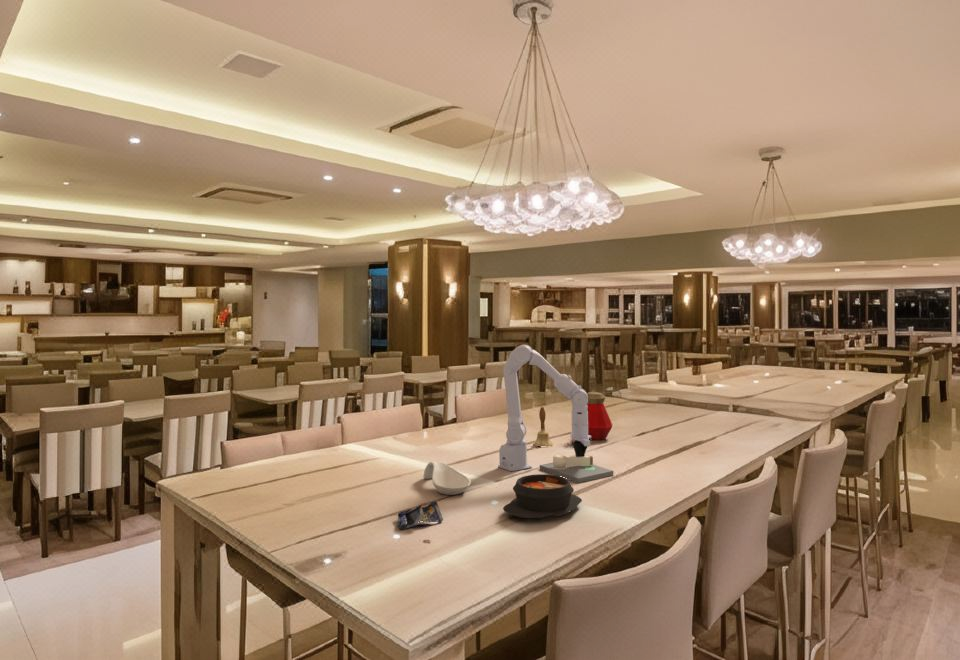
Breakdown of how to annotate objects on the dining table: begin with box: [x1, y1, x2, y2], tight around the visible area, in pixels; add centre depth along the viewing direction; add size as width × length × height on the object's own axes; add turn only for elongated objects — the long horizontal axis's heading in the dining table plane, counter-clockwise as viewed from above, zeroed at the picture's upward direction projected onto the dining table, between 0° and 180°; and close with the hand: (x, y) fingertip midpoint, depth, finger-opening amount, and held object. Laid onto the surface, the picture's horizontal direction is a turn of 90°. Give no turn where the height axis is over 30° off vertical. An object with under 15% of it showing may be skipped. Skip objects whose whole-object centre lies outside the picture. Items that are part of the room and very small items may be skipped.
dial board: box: [539, 462, 614, 484], centre depth 201 cm, size 16×20×2 cm
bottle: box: [586, 391, 613, 441], centre depth 255 cm, size 16×14×20 cm
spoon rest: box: [422, 460, 471, 496], centre depth 185 cm, size 24×12×7 cm, turn 29°
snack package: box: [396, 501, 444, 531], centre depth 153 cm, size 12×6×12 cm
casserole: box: [502, 473, 583, 520], centre depth 162 cm, size 25×19×8 cm
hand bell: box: [532, 406, 554, 447], centre depth 243 cm, size 8×8×16 cm
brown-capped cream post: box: [552, 454, 594, 467], centre depth 202 cm, size 14×4×3 cm, turn 96°
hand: (580, 462), depth 204 cm, fingers closed, pressing on brown-capped cream post
